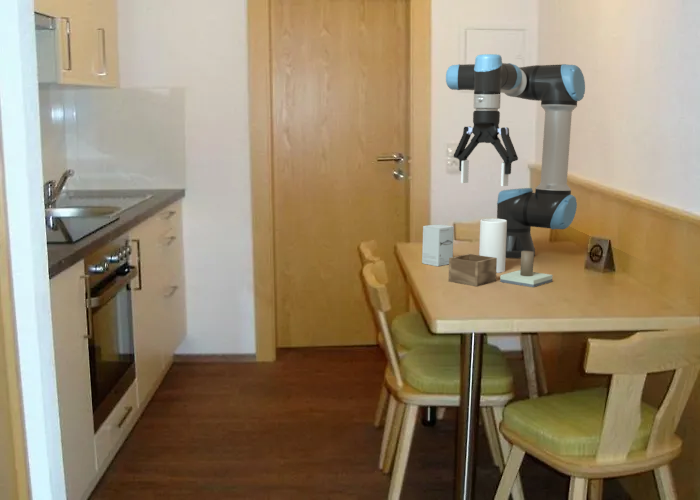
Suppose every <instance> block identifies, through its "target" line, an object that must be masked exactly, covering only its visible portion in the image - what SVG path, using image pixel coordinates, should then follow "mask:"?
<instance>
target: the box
mask: <svg viewBox="0 0 700 500" xmlns="http://www.w3.org/2000/svg"><path fill="white" fill-rule="evenodd" d="M496 266H497V258H494V257H487V256H480V255H479V254H474V253H473V254H472V253H465V254H461V255H457V256H453V257H452V258H449V264H448V282H449V283H457V284H463V285H467V286H472V287H481V286H484V285H488V284H490V283H494V282H496V281H497V273H496Z"/></svg>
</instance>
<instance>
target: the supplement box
mask: <svg viewBox="0 0 700 500" xmlns="http://www.w3.org/2000/svg"><path fill="white" fill-rule="evenodd" d="M454 230H455V229H454V226H453V225H447V224H429V225H423V226H422V253H421V254H422V255H421V256H422V258H421V263H422V264H425V265H427V266H428V265H429V266H434V267H440V266H441V267H442V266H446V265H449V258H452V257H454V255H453V254H454Z"/></svg>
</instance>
